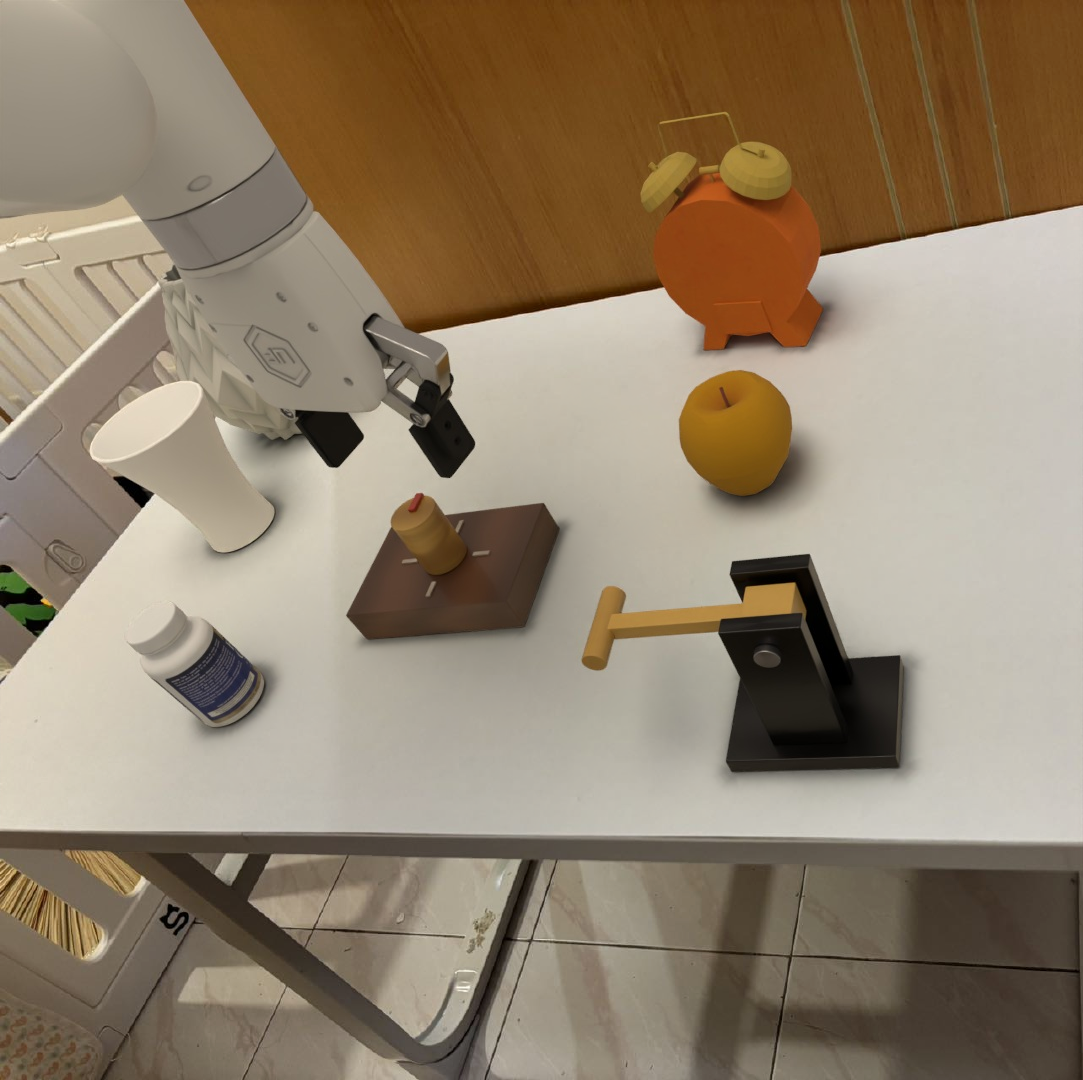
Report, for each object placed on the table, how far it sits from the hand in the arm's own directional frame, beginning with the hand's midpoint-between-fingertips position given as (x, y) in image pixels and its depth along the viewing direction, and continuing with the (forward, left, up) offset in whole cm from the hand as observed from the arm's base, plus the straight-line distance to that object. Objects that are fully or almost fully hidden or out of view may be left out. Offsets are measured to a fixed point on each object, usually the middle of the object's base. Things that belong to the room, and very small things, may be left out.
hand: (401, 457), depth 63 cm
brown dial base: (-6, +5, -17) cm, 18 cm away
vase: (-36, +32, -17) cm, 51 cm away
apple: (+17, +13, -17) cm, 27 cm away
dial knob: (-6, +5, -14) cm, 16 cm away
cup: (-34, +15, -17) cm, 41 cm away
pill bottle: (-23, -5, -17) cm, 29 cm away
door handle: (+19, -9, -8) cm, 23 cm away
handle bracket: (+24, -9, -17) cm, 30 cm away
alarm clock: (+15, +33, -17) cm, 39 cm away
